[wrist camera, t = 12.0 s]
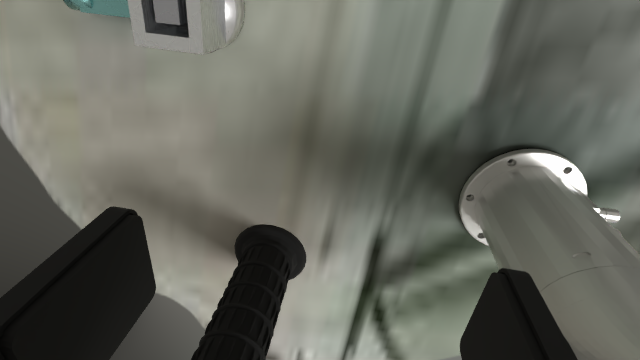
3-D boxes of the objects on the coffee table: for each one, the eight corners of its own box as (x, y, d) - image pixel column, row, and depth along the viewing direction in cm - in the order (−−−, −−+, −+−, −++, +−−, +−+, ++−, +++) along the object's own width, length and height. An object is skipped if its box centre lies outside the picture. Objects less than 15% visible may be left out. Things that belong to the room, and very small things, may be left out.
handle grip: (229, 223, 46) (240, 278, 50) (84, 460, 23) (131, 520, 28) (303, 226, 44) (308, 283, 49) (229, 482, 21) (251, 541, 26)
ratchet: (243, -40, 31) (212, -47, 25) (245, 54, 35) (218, 68, 29) (73, -58, 32) (2, -68, 26) (93, 35, 36) (37, 45, 30)
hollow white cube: (223, -28, 29) (197, -30, 25) (226, 45, 32) (203, 54, 28) (158, -35, 29) (121, -39, 25) (166, 37, 32) (134, 45, 28)
